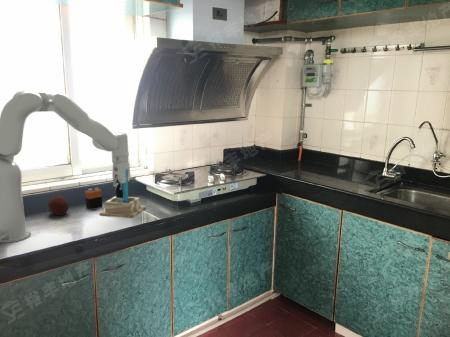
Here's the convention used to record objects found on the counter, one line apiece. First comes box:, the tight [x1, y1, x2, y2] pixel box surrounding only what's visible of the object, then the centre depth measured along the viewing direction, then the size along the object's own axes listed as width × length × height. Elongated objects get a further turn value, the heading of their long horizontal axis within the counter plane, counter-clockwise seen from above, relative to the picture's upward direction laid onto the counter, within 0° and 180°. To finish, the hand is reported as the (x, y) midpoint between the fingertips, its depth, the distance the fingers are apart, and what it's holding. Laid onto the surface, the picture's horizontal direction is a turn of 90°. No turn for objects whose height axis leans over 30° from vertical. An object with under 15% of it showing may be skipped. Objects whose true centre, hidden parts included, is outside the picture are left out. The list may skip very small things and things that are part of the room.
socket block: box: [98, 195, 146, 219], centre depth 186 cm, size 15×17×6 cm
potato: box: [47, 195, 69, 216], centre depth 181 cm, size 9×12×9 cm
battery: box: [84, 187, 103, 211], centre depth 192 cm, size 4×7×10 cm, turn 136°
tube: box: [117, 169, 129, 203], centre depth 184 cm, size 7×5×19 cm, turn 96°
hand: (122, 195), depth 185 cm, fingers closed on tube, 4 cm apart
